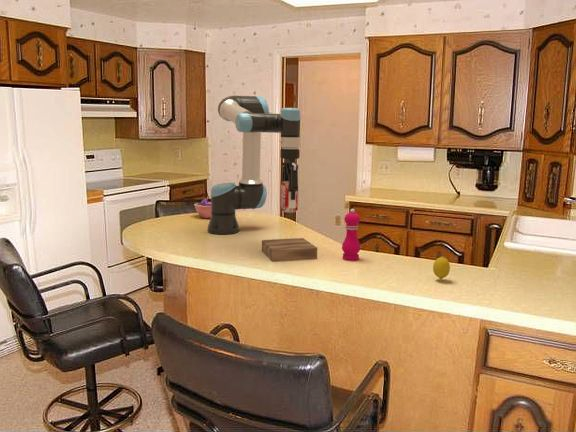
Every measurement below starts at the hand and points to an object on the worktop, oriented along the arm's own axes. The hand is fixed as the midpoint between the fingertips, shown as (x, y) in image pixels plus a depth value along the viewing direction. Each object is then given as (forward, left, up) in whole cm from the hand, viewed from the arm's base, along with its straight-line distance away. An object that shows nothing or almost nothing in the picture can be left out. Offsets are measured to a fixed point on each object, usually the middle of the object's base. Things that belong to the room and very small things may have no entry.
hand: (289, 206), depth 200 cm
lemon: (+45, +41, -20) cm, 64 cm away
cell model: (-88, -18, -20) cm, 92 cm away
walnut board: (0, 0, -20) cm, 20 cm away
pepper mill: (+12, +22, -20) cm, 32 cm away
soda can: (0, 0, -2) cm, 2 cm away
